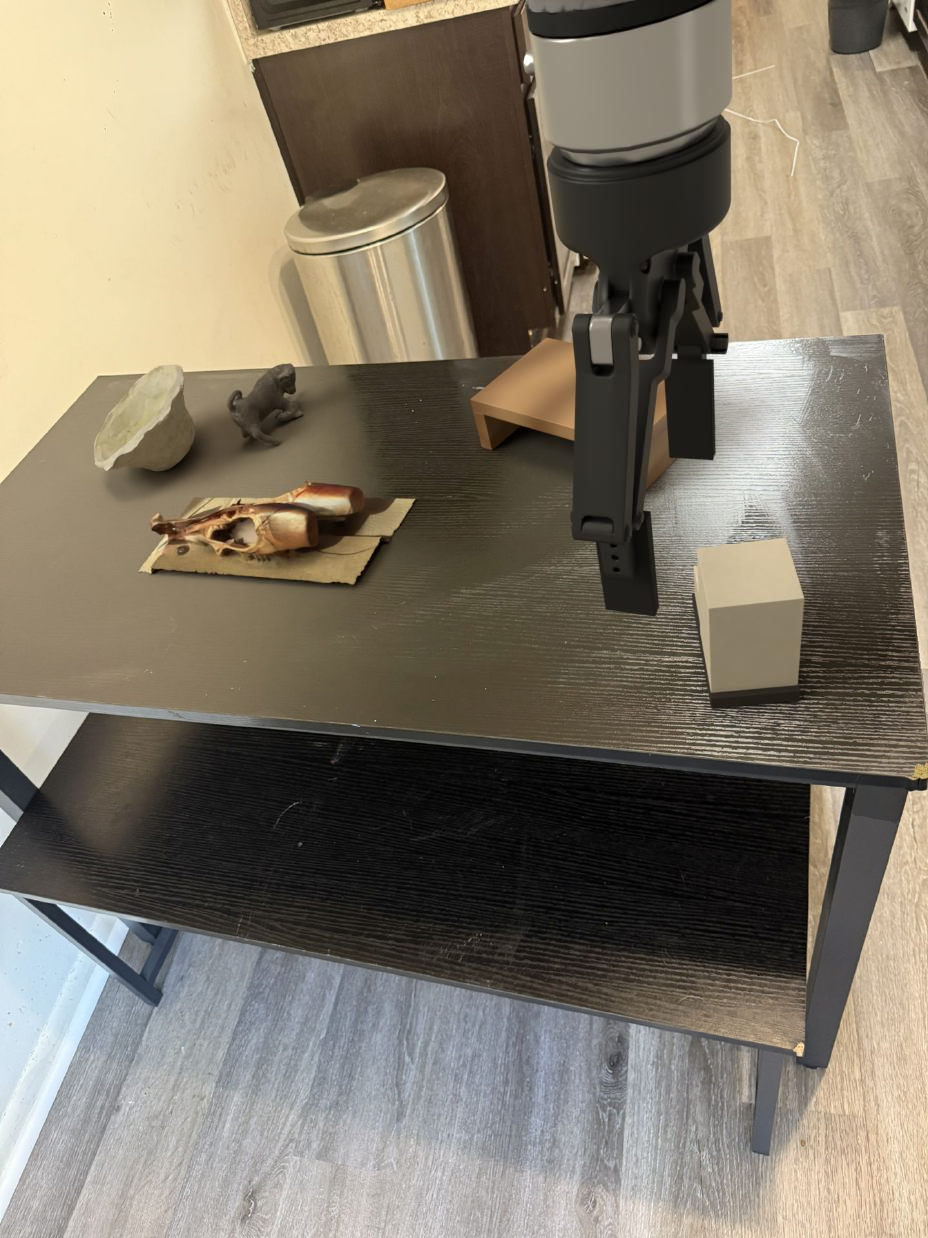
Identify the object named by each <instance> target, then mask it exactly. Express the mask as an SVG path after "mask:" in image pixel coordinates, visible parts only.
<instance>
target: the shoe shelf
mask: <svg viewBox="0 0 928 1238" xmlns="http://www.w3.org/2000/svg"><path fill="white" fill-rule="evenodd" d="M648 359H649V358H646V357H642V356H639V360H648ZM575 386H576V369H575V359H574V349H573V342H569V341H565V340H560V339H555V338H550V337H545V338H544V339H543V340H542V341H540V342H539V343H538V344H536V345H535V346H534V347H533V348H532V349H530V350H529V351H528V352H526V353H525V354H524V355H523V356H521V357H520V358H519V359H518V360H516V362H513V364H512V365H511V366H509V367H508V368H507V369H505V370H504V371H503V372H501V374H500V375H498V376H496V378H495V379H493V380H492V381H491V382H490V383H489V384H487V385H486V386H485V387H483V388H482V389H481V390H480V391H479V392H477V393H476V394H475V395H473V396H472V397H471V398H470V399H469V400H470V404H471V409H472V412H473V417H474V420H475V421H474V422H475V425H476V429H477V433H478V437H479V441H480V445H481V448H484V449H487V450H489V451H493V450H494V449H495V448H497V447H498V446H499V445H501V443H503V442H504V441H505V440H506V439H507V438H508V437H510V436H511V435H512V434H513V433H514V432H515V431H517V429H519V428H520V427H526V428H529V429H532V430H535V431H538V432H542V433H545V434H549V435H553V436H555V437H559V438H564V439H566V440H570V441H573V442H574V426H575ZM677 459H678V458H669V445H668V429H667V414H666V399H665V383H664V380H663V381H661V382H660V383H659V385H658V389H657V398H656V406H655V415H654V423H653V432H652V440H651V449H650V457H649V466H648V474H647V483H646V490H648V489H649V488H650V487H651V486H652V484H654V483H655V481H657V480H658V478H660V476H662V475H663V474H664V472H665V471H667V469H668V468H669V467H671V465H672V464H673V463H674V462H675V461H676V460H677Z"/></svg>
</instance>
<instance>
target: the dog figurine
mask: <svg viewBox="0 0 928 1238" xmlns="http://www.w3.org/2000/svg"><path fill="white" fill-rule="evenodd" d="M296 380H297V374H296V368H295V366H294V365H293V363H291V362H290V363H280V364H277V365H275V366H273V367H272V368H270V369H268V370H266V372H265V373H264V374H263V375H262V376H261V377H259V378H258V379H257V380H256V382H255V384H254V386H253V388H252V391H250V393H249V394H248V395H246V396H245V397H243V392H242V390H240V389H236V390H233V392H231V394H229V396H228V399H227V402H226V406H227V409H228V411H229V413H230V418H231V421H232V422H233V423H234V425H235V426H237V427H238V428H239V429H240V431H241V435H242V438H243V439H248V438H249V437H250V436H252V438H254V439H255V440H257V441H261V442H263V443H264V444H268V445H269V444H271V445H273V446H278V445H279V444H280V443H281V441H280V440H279V438H276V437H272V436H270V435H267V434H265V433H263V432H262V431H261V430H262V429H261V423H262V422H264V421H265V420H266V419H267V418H268V417H269V416H270V415H271V414H272V413H274V412H275V411H276V410H280V412H278V413H277V414H276V415H275V416H274V420H275V421H279V422H286V421H287V422H288V421H290V420H293V419H298V418H300V417H302V416H303V414H304V412H303V411H301V410H300V408H299V405H298V404H297V403H296V402H295V401H293V400H291V399H288V398H287V397H285V396H284V395H285V394H288V395H290V396H293V395H294V394H295V393H297V388H296V382H297V381H296Z"/></svg>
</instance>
